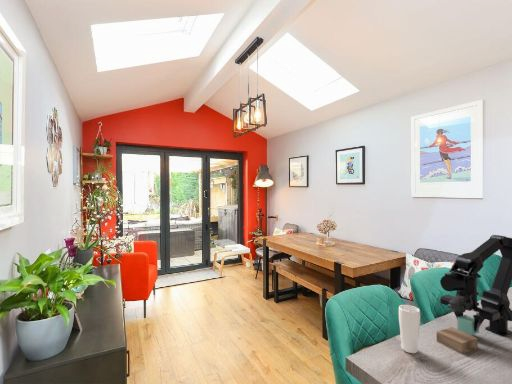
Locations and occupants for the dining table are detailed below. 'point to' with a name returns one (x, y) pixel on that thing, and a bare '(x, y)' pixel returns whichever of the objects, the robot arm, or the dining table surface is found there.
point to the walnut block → (457, 340)
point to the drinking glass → (409, 327)
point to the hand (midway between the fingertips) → (468, 328)
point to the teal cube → (466, 324)
